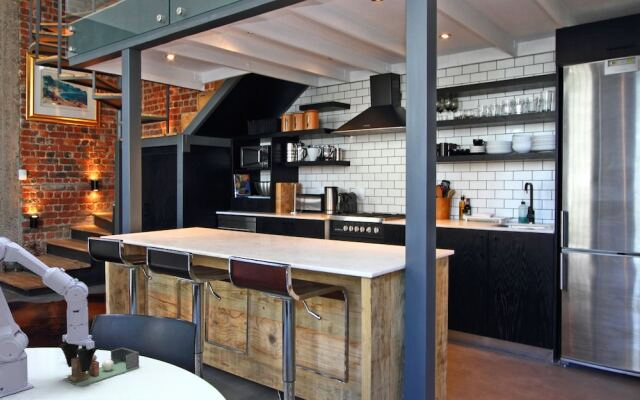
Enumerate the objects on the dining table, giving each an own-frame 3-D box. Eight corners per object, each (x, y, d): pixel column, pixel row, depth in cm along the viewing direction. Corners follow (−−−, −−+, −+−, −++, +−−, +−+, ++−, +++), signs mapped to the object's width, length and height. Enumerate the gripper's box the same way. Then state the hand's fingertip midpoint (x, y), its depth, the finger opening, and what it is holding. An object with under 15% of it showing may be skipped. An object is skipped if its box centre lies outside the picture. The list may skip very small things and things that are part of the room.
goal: (127, 371, 161) (126, 355, 161) (111, 366, 166) (110, 350, 166) (139, 367, 165) (138, 352, 164) (122, 362, 170) (122, 347, 170)
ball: (105, 373, 158) (105, 362, 158) (99, 371, 160) (99, 360, 160) (116, 370, 161) (116, 359, 161) (109, 368, 163) (109, 357, 163)
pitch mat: (81, 387, 148) (81, 385, 148) (63, 380, 154) (63, 378, 154) (138, 368, 164) (138, 366, 164) (120, 362, 170) (120, 361, 170)
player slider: (75, 382, 150) (74, 361, 150) (68, 379, 152) (67, 358, 152) (100, 374, 156) (99, 354, 156) (93, 371, 159) (92, 352, 159)
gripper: (103, 324, 152) (104, 369, 152) (77, 317, 160) (78, 360, 160) (80, 329, 146) (81, 376, 146) (55, 322, 155) (56, 367, 155)
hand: (78, 368), depth 153 cm, fingers open, 7 cm apart
